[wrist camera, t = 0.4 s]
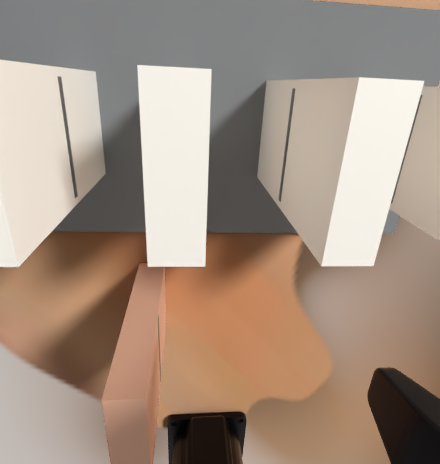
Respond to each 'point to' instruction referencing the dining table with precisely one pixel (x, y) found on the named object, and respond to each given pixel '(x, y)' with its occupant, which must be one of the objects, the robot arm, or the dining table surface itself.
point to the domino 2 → (137, 372)
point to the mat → (222, 82)
